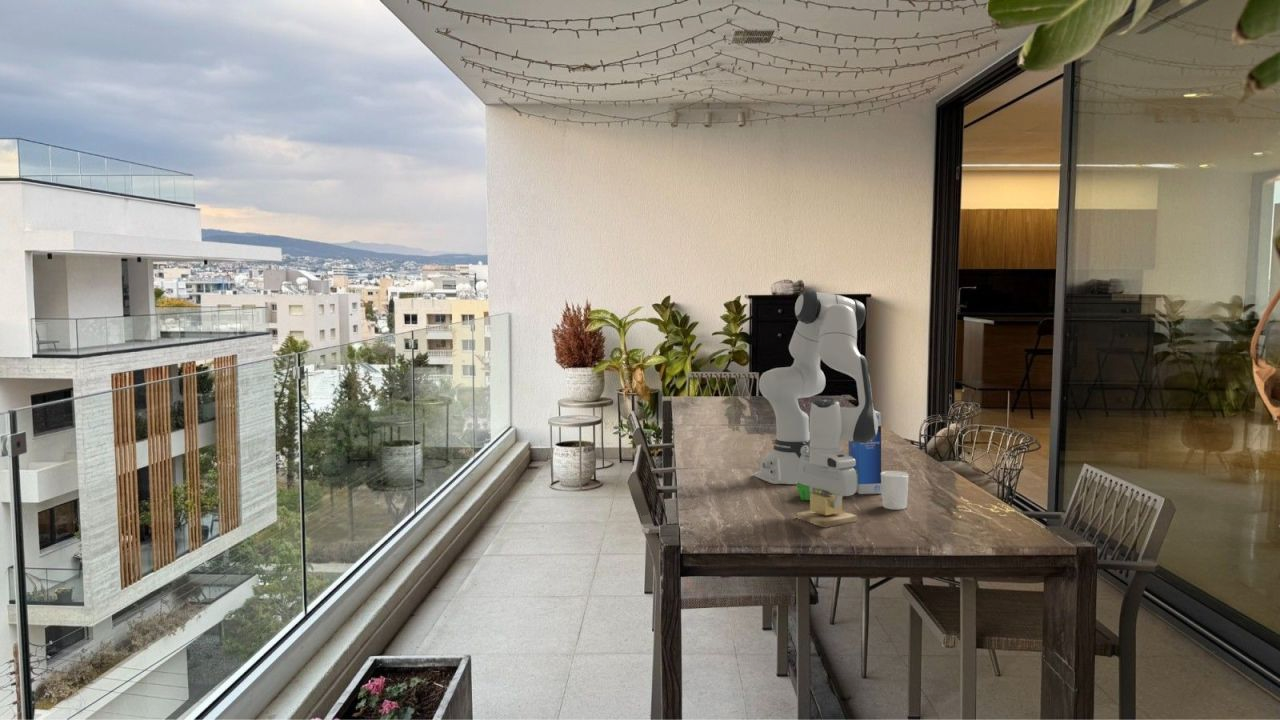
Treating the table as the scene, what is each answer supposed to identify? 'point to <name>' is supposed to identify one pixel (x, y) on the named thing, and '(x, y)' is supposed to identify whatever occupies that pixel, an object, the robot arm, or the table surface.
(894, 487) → the white cup
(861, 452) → the string lights box
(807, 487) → the fruit basket
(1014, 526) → the table surface
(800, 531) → the table surface
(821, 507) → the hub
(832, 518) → the shaft block
